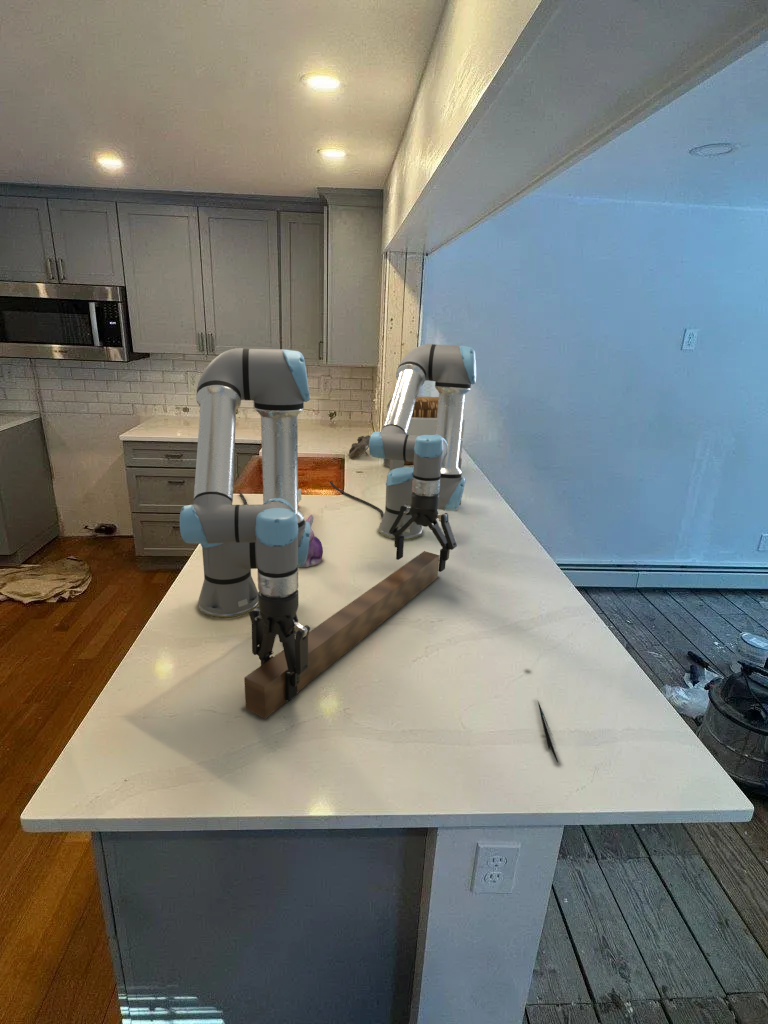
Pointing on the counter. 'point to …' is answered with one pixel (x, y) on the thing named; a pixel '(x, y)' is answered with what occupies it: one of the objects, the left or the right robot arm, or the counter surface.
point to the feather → (547, 731)
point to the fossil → (359, 447)
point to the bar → (340, 633)
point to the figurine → (313, 547)
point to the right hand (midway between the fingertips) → (420, 564)
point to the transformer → (422, 426)
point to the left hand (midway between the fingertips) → (280, 691)
